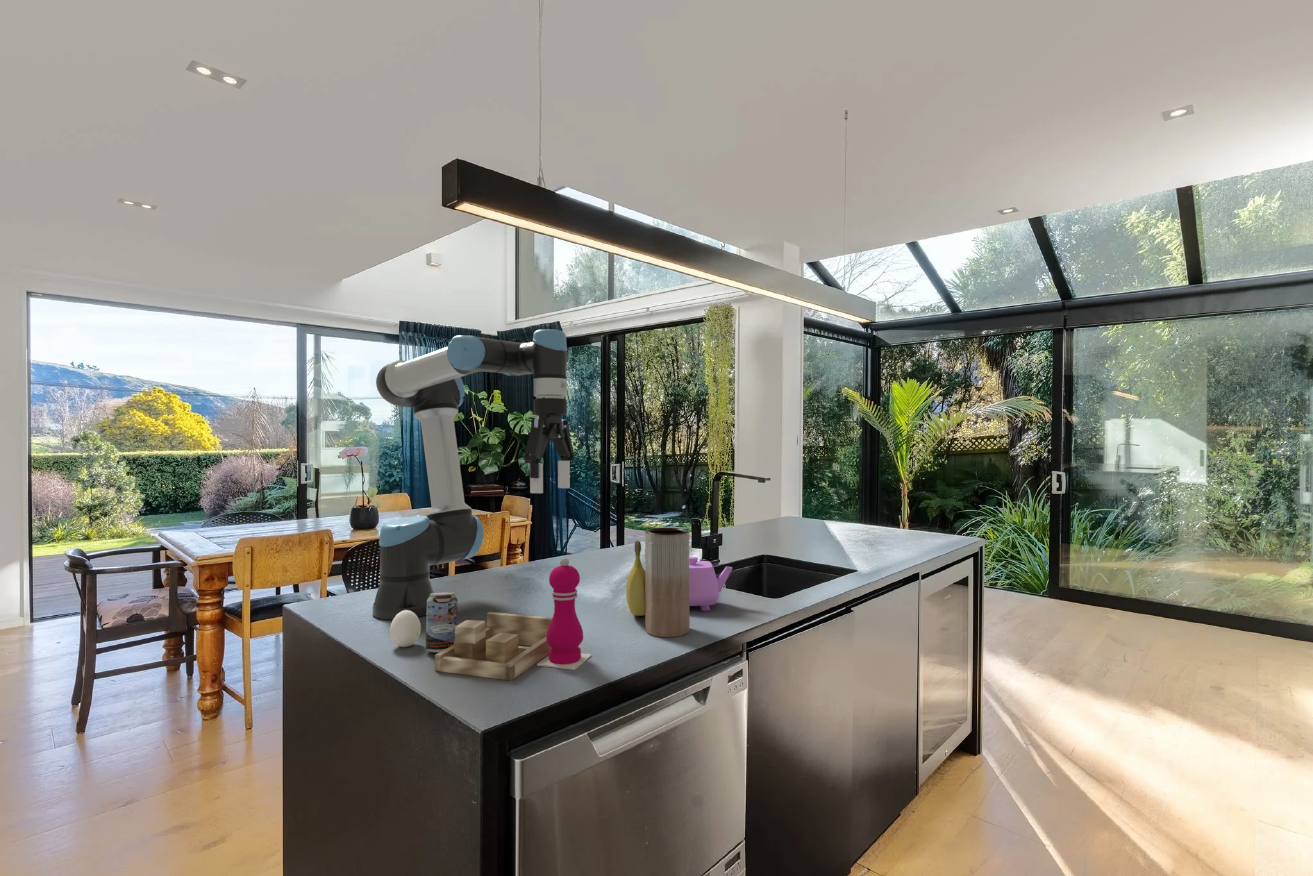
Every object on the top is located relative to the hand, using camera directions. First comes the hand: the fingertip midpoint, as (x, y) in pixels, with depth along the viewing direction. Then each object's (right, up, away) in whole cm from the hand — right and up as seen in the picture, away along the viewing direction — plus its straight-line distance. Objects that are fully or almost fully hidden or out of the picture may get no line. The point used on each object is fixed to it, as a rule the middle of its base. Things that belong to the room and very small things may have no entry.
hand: (550, 490), depth 145 cm
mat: (+6, -32, -21) cm, 38 cm away
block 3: (-5, -32, -25) cm, 41 cm away
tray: (-7, -32, -19) cm, 38 cm away
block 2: (-12, -32, -23) cm, 41 cm away
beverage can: (-20, -32, -14) cm, 41 cm away
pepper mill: (+6, -32, -21) cm, 38 cm away
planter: (+27, -32, -2) cm, 42 cm away
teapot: (+34, -32, +19) cm, 50 cm away
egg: (-29, -32, -12) cm, 45 cm away
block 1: (-12, -27, -23) cm, 37 cm away
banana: (+20, -32, +11) cm, 39 cm away
